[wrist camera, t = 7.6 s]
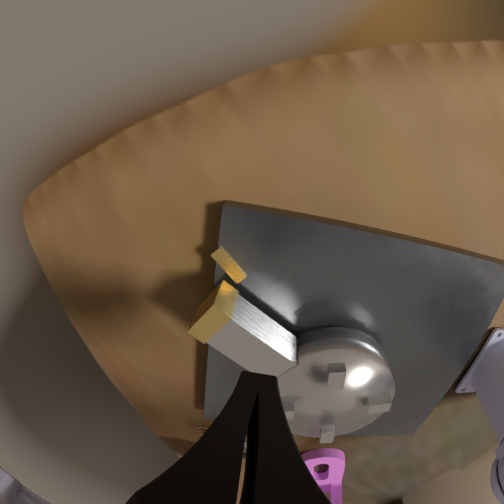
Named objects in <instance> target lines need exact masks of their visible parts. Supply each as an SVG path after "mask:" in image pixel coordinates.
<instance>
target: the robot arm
mask: <svg viewBox="0 0 504 504" xmlns="http://www.w3.org/2000/svg"><path fill="white" fill-rule="evenodd" d="M455 391H456V393H467V392H476V394H477V396H478V398H479V400H480V402H481V404H482V406H483V409H484V411H485V413H486V415H487V417H488V419H489V422H490V424H491V426H492V428H493V431H494V433H495V436H496V438H497V440H498V443H499V445H500V446H499V447H498V448H497V449H496V450H495V451H494V452H495V454H496V457H497V458H496V459H495V461H494V462H493V465H492V469H491V476H490V481H491V487H492V490H493V493H494V496H495V497H496V499H497V500H498V502H500V503H501V504H504V329H502V328H495V329H494V330H493V331H492V332H491V334H490V336H489V338H488V339H487V341H486V343H485V344H484V346H483V348H482V349H481V351H480V353H479V354H478V356H477V357H476V359H475V360H474V362H473V364H472V365H471V367H470V368H469V370H468V371H467V373H466V374H465V375H464V377H463V378H462V380H461V381H460V383H459V384H458V385H457V387H456V388H455ZM247 429H248V431H247ZM246 433H247V446H246V461H245V474H244V482H243V488H242V493H241V498H240V504H332V503H331V502H330V501H329V500H328V498H327V497H326V496H325V494H324V493H323V491H322V490H321V488H320V487H319V485H318V484H317V482H316V481H315V479H314V478H313V476H312V475H311V473H310V471H309V469H308V467H307V466H306V464H305V462H304V460H303V458H302V456H301V454H300V452H299V450H298V447H297V445H296V443H295V440H294V438H293V435H292V433H291V430H290V427H289V424H288V421H287V418H286V415H285V412H284V408H283V405H282V401H281V397H280V392H279V386H278V378H277V377H276V376H272V375H266V374H260V373H255V372H249V371H242V372H241V373H240V377H239V380H238V382H237V384H236V387H235V389H234V391H233V393H232V394H231V396H230V398H229V400H228V401H227V403H226V405H225V406H224V408H223V409H222V411H221V412H220V414H219V415H218V417H217V418H216V419H215V421H214V422H213V423H212V425H211V426H210V427H209V429H208V430H207V431H206V432H205V433H204V435H203V436H202V437H201V438H200V439H199V440H198V441H197V442H196V444H195V445H194V446H193V447H192V448H191V449H190V450H189V451H188V452H187V453H186V454H185V455H184V456H183V457H181V458H180V459H179V460H178V461H177V462H176V463H175V464H174V465H172V466H171V467H170V468H169V469H167V470H166V471H165V472H164V473H162V474H161V475H160V476H159V477H157V478H156V479H154V480H153V481H151V482H150V483H149V484H147V485H146V486H144V487H143V488H141V489H139V490H138V491H136V492H135V493H134V495H133V496H132V497H131V498H130V499H129V500H128V501H127V502H126V504H236V500H237V493H238V485H239V478H240V471H241V464H242V457H243V450H244V444H245V438H246ZM0 504H51V503H49V502H47V501H46V500H44V499H42V498H41V497H39V496H38V495H36V494H35V493H33V492H32V491H30V490H29V489H27V488H26V487H24V486H23V485H22V484H21V483H20V482H19V481H18V480H17V479H15V478H14V477H13V476H12V475H11V474H9V473H8V472H6V471H5V470H4V469H3V468H1V467H0Z"/></svg>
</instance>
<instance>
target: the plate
mask: <svg viewBox="0 0 504 504" xmlns="http://www.w3.org/2000/svg"><path fill="white" fill-rule="evenodd" d="M211 256H212V257H213V259H214V260H215V261H216V268H215V278H214V288H213V290H214V289H215V288H216V287H217V286H218V285H219V284H220V283H221V282H222V281H223V280H225V281H226V282H227V283H228V284H230V285H231V286H232V287H234V288H235V289H236V290H238V291H239V293H238V294H239V295H240V296H242V297H243V298H244V299H246V300H247V301H248V302H250V303H251V304H252V305H254V306H255V307H256V308H258V309H259V310H260V311H262V312H263V313H264V314H266V315H267V316H268V317H270V318H271V319H272V320H274V321H275V322H276V323H278V324H279V325H280V326H282V327H283V328H285V329H286V330H287V331H289V332H290V333H291V334H293V335H294V336H298V335H301V334H303V333H305V332H309V331H312V330H316V329H321V328H328V327H345V328H352V329H357V330H359V331H362V332H365V333H367V334H369V335H370V336H372V337H373V338H375V339H376V340H377V341H378V342H379V343H380V345H381V346H382V348H383V350H384V352H385V355H386V358H387V361H388V364H389V367H390V370H391V373H392V376H393V379H394V383H395V394H394V398H393V400H392V405H391V407H390V410H389V411H388V412H384V413H383V414H382V415H381V416H380V417H379V418H377V419H376V420H375V421H373V422H372V423H370V424H369V425H367V426H365V427H363V428H361V429H358V430H356V431H353V432H350V433H347V434H343V435H362V436H366V435H400V434H413V433H414V432H415V431H416V430H417V429H418V427H419V426H420V425H421V424H422V423H423V422H424V420H425V419H426V418H427V417H428V416H429V414H430V413H431V412H432V411H433V410H434V408H435V407H436V406H437V404H438V403H439V402H440V401H441V399H442V398H443V397H444V395H445V394H446V393H447V391H448V390H449V389H450V387H451V386H452V384H453V383H454V382H455V380H456V379H457V377H458V376H459V374H460V373H461V371H462V370H463V368H464V367H465V365H466V364H467V362H468V361H469V359H470V358H471V356H472V354H473V353H474V351H475V350H476V348H477V346H478V345H479V343H480V341H481V340H482V338H483V336H484V334H485V333H486V331H487V329H488V327H489V325H490V323H491V322H492V320H493V318H494V316H495V314H496V312H497V310H498V308H499V306H500V304H501V302H502V300H503V298H504V261H503V260H500V259H496V258H493V257H489V256H486V255H482V254H478V253H475V252H471V251H467V250H464V249H460V248H456V247H452V246H448V245H444V244H440V243H436V242H432V241H428V240H424V239H420V238H416V237H412V236H407V235H403V234H399V233H394V232H390V231H386V230H381V229H377V228H372V227H368V226H363V225H358V224H353V223H349V222H344V221H339V220H334V219H329V218H324V217H319V216H314V215H309V214H303V213H298V212H293V211H287V210H282V209H276V208H271V207H265V206H259V205H253V204H247V203H241V202H235V201H229V200H226V201H225V203H224V204H223V205H222V214H221V222H220V231H219V240H218V249H217V250H216V251H214V252H213V253H212V254H211ZM242 371H248V370H247V369H245V368H244V367H242V366H240V365H239V364H237V363H236V362H234V361H233V360H231V359H230V358H228V357H227V356H225V355H224V354H222V353H221V352H219V351H218V350H216V349H215V348H213V347H212V346H210V345H208V358H207V371H206V386H205V401H204V418H209V419H213V420H215V419H216V418H217V417H218V415H219V414H220V412H221V411H222V409H223V408H224V406H225V405H226V403H227V401H228V400H229V398H230V396H231V394H232V393H233V391H234V389H235V387H236V384H237V382H238V380H239V377H240V373H241V372H242ZM249 372H250V371H249Z"/></svg>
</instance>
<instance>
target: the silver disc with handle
mask: <svg viewBox="0 0 504 504" xmlns="http://www.w3.org/2000/svg"><path fill="white" fill-rule="evenodd" d="M238 293H239V291H238V290H236V289H235V288H234V287H232V286H231V285H230V284H228V283H227V282H226V281H225V280H223V281H222V282H221V283H220V284H219V285H218V286H217V287H216V288H215V289H214V290H213V291H212V292H211V293H210V295H209V296H208V297H207V298H206V299H205V300H204V301H203V302H202V303H201V304H200V305H199V307H198V309H197V312H196V314H195V316H194V318H193V320H192V322H191V325H190V327H189V329H188V331H187V332H188V333H189V334H191V335H192V336H193V337H195V338H196V339H198V340H199V341H201V342H202V343H203V344H204V343H208V344H209V345H210V346H212V347H213V348H215V349H216V350H218V351H219V352H221V353H222V354H224V355H225V356H227V357H228V358H230V359H231V360H233V361H234V362H236V363H237V364H239V365H240V366H242V367H244V368H245V369H247V370H248V371H250V372H255V373H260V374H266V375H272V376H276V377H277V378H278V386H279V392H280V397H281V401H282V405H283V408H284V412H285V415H286V418H287V421H288V424H289V427H290V430H291V433H293V434H296V435H300V436H306V437H320V443H332V442H333V440H334V436H339V435H343V434H347V433H350V432H353V431H356V430H358V429H361V428H363V427H365V426H367V425H369V424H370V423H372V422H373V421H375V420H376V419H377V418H379V417H380V416H381V415H382V414H383V413H384V412H388V411H389V410H390V407H391V405H392V400H393V398H394V394H395V383H394V379H393V376H392V373H391V370H390V367H389V364H388V361H387V358H386V355H385V352H384V350H383V348H382V346H381V345H380V343H379V342H378V341H377V340H376V339H375V338H373V337H372V336H370V335H369V334H367V333H365V332H362V331H359V330H357V329H352V328H345V327H328V328H321V329H316V330H312V331H309V332H305V333H303V334H301V335H298V336H294V335H293V334H291V333H290V332H289V331H287V330H286V329H285V328H283V327H282V326H280V325H279V324H278V323H276V322H275V321H274V320H272V319H271V318H270V317H268V316H267V315H266V314H264V313H263V312H262V311H260V310H259V309H258V308H256V307H255V306H254V305H252V304H251V303H250V302H248V301H247V300H246V299H244V298H243V297H242V296H240V295H239V294H238Z"/></svg>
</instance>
